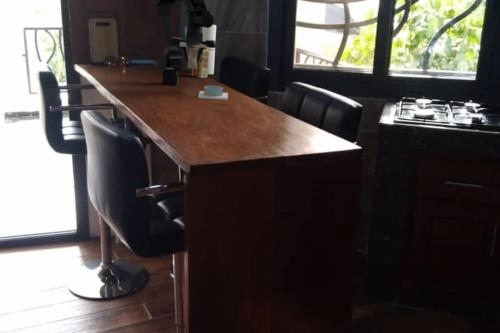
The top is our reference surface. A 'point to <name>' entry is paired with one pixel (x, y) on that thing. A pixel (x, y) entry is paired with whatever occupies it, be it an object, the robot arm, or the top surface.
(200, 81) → the top surface
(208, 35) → the cylindrical container
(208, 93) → the cup bracket
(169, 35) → the robot arm
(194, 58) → the rail post
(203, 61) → the candy box
